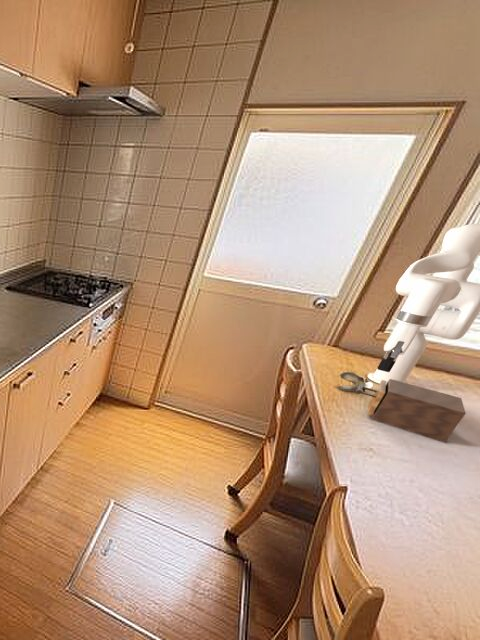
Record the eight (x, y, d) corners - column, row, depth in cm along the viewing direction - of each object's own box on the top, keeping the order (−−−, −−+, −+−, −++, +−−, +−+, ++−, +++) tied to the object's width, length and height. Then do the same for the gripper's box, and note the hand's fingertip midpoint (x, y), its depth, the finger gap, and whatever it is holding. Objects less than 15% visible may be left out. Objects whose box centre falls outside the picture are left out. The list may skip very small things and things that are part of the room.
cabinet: (371, 419, 142) (388, 391, 137) (373, 405, 152) (389, 378, 147) (444, 442, 132) (465, 413, 127) (441, 425, 141) (461, 398, 136)
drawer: (347, 408, 146) (360, 385, 142) (351, 396, 155) (363, 374, 151) (433, 435, 133) (450, 411, 129) (431, 420, 142) (447, 397, 138)
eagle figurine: (357, 383, 166) (334, 376, 166) (374, 374, 159) (350, 367, 160) (359, 399, 162) (336, 392, 163) (377, 391, 156) (353, 383, 156)
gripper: (397, 311, 141) (370, 361, 149) (397, 319, 131) (367, 372, 139) (428, 317, 136) (397, 368, 145) (430, 326, 126) (397, 380, 135)
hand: (383, 370), depth 142 cm, fingers closed
